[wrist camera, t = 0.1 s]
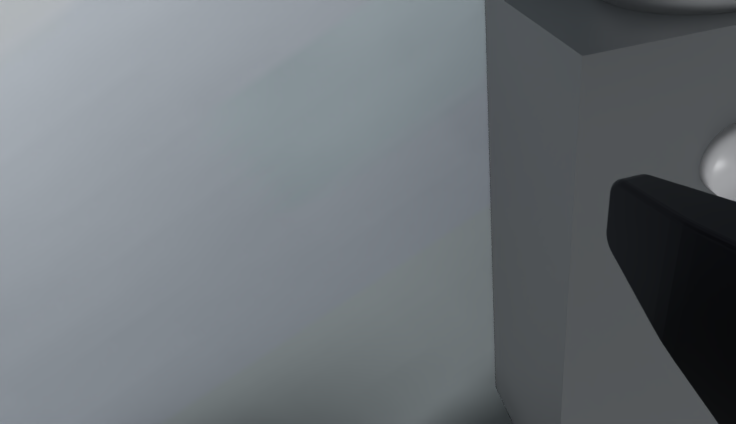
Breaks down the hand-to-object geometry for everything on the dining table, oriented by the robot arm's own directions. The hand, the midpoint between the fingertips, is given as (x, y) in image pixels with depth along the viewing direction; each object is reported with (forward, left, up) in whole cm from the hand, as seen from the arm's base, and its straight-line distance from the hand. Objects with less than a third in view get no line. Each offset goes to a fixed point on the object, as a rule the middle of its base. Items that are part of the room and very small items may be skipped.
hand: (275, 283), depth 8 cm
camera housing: (-10, -13, -15) cm, 22 cm away
